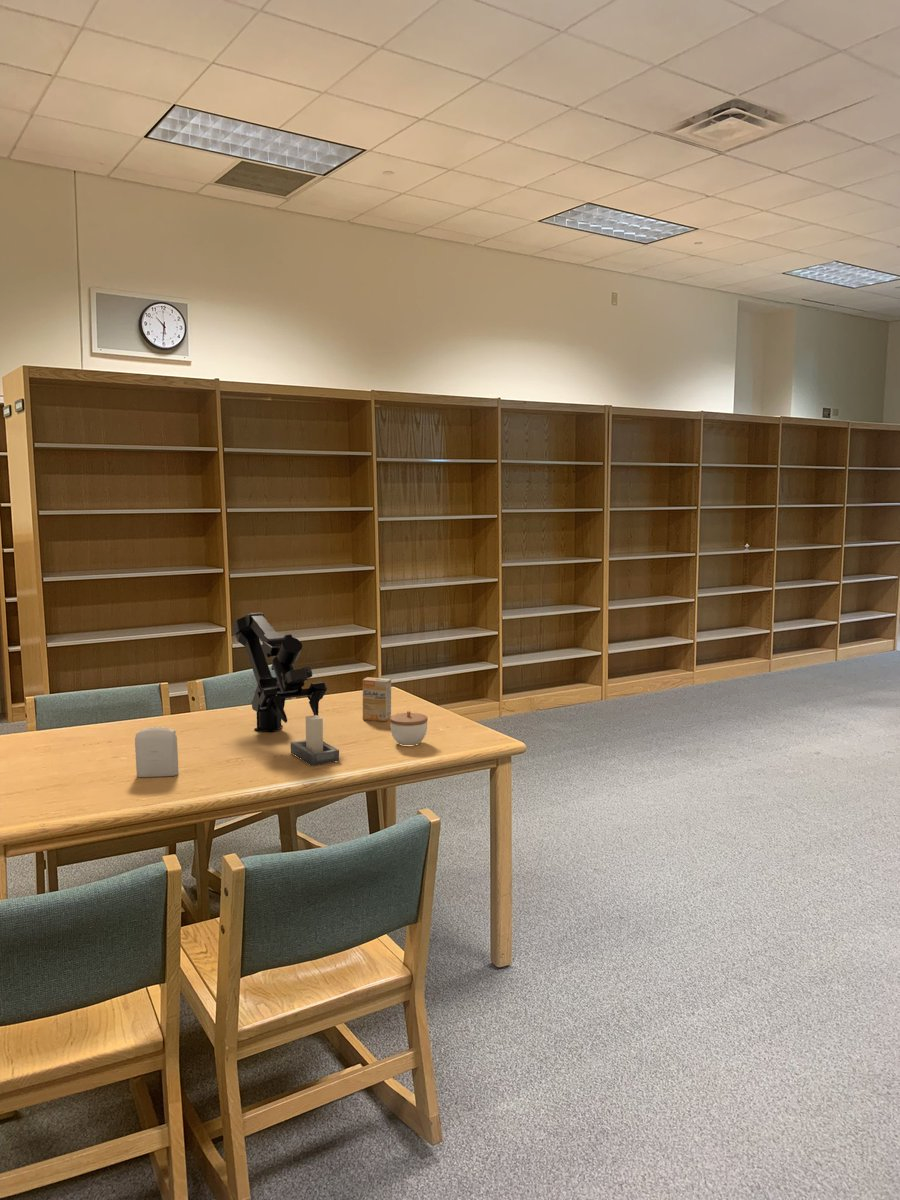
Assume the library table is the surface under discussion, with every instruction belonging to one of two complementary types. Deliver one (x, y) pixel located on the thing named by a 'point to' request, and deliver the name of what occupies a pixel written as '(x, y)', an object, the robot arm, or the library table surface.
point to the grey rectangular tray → (314, 758)
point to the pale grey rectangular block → (314, 733)
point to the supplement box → (376, 699)
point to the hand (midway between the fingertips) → (302, 719)
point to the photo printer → (156, 752)
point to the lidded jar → (408, 727)
